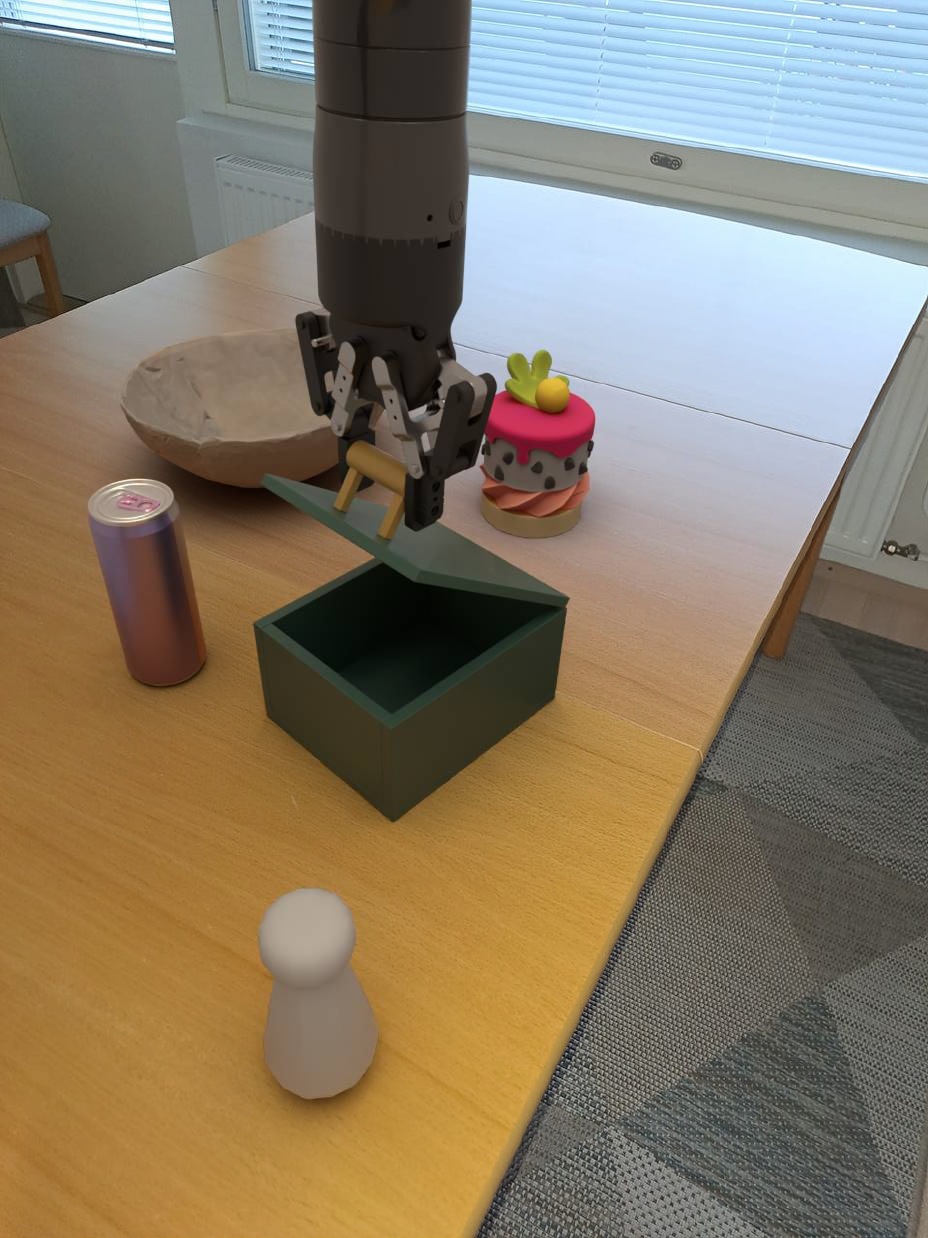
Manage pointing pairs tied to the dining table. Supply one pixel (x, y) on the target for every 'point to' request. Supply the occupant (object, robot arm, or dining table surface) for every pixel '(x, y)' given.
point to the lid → (408, 532)
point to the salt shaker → (314, 995)
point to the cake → (536, 452)
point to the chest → (404, 677)
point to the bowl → (232, 408)
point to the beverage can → (148, 579)
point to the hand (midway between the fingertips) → (389, 505)
